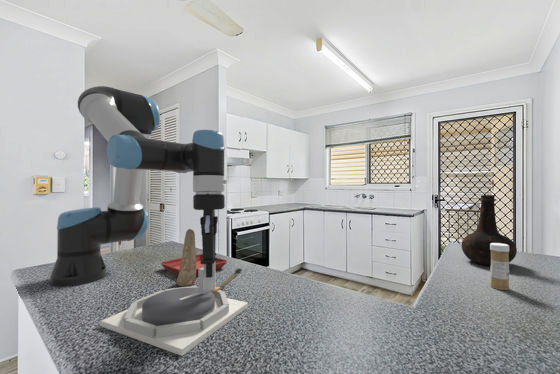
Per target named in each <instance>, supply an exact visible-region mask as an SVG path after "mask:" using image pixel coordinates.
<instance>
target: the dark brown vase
mask: <svg viewBox="0 0 560 374" xmlns="http://www.w3.org/2000/svg"><path fill="white" fill-rule="evenodd" d="M480 197H481V198H480V199H479V201H480V211H479V219H478V223H477V227H476V229H475V230H474V231H473V232H472V233H469V234H467V235H465V236H464V237H463V239H462V240H461V245H460V246H461V250H462V252H463V255H465V257H466V258H467V259H468V260H469V261H471V262H473V263H475V264H479V265H483V266H488V267H491V249H490V244H491V243H502V244H507V245H509V263H512V261H514V259H515V257H516V256H517V251H518V250H517V246H516V244H515V242H514V241H513V240H512V239H510V238H509V237H507V236H506V235H502V234H501V233H500V232H499V230H498V227H497V220H496V219H497V218H496V208H495V201H496V202H497V201H498V199H496V198H495V195H493V194H482V195H481V196H480Z"/></svg>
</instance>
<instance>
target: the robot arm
mask: <svg viewBox="0 0 560 374" xmlns="http://www.w3.org/2000/svg"><path fill="white" fill-rule="evenodd" d="M77 109H78V111H79V113H80V114H81V116H82V118H84V120H85V121H87V122H88V123H90V124H92V125H94V126H95V128H96V129H97V131H99V133H100V134H101V135H102V136H103V138H104V139H105V141H107V145H106V156H107V161H108V163H109V164H110V166H111V167H113V168H115V176H114V178H115V179H114V189H113V198H112V199H113V200H112V201H110V203H109V204H107V210H102V208H101V207H86V208H85V207H84V208H79V209H72V210H71V209H70V210H67V211H64V212H61V213H60V214H59V216H58V217H57V224H56V229H57V237H56V239H57V240H56V241H57V247H56V248H57V253H56V254H57V257H56V260H55V263H54V266H53V268H52V271H51V273H50V275H49V284H50V285H52V286H54V287H55V286H56V287H67V286H76V285H83V284H87V283H91V282H95V281H98V280H100V279H103V278H104V277H106V276H107V266H106V264H105V261H104V259H103V256H102V254H101V246H102V245H104V244H105V245H106V244H113V243H121V242H130V241H134V240H139V239H141V238H142V237H143V236H144V235H145V234H146V233H147V230H148V227H149V218H148V217H149V214H148V211H147V210H146V209H144V205H143V204H142V203H141V201H140V200H141V192H142V191H141V190H142V183H143V182H142V181H143V174H144V173H143V172H144V171H147V170H149V171H161V172H162V171H164V172H174V173H178V174H187V173H191V172H192V175H193V176H192V191H193V193H195V194H194V195H193V197H192V199H193V200H192V201H193V203H192V204H193V207H192V208H193V210H196V211H202V212H203V214H202V216H201V217H200V220H199V221H200V223H199V224H200V229H201V240H202V241H201V244H202V245H201V246H202V248H201V249H202V254H203V261H201V264H204V291H205V290H215V288H216V285H217V283H216V282H217V281H216V274H217V273H216V271H217V270H215V261H218V258H219V257H216V255H217V253H216V248H217V247H216V243H217V241H216V240H217V237H216V235H217V233H218V221H219V217H218V215H217V216H216V210H224V209H225V207H226V205H225V204H226V203H225V196H226V195H225V194H224V192H225V184H227V183H228V181H227V179H225V140H224V135H223V133H222V132H221V131H219V130H218V131H217V130H214V129H197V130H196V131H194V132H193V135H192V140H191V141H192V142H190V143H180V142H173V141H166V140H160V139H154V138H153V139H152V138H150V137H152V132H154V131H157V129H158V128H159V126H160V122H161V115H160V114H161V113H160V108H159V106H158V104H157V101H155V100H154V99H153V98H151V97H148V96H145V95H142V94H137V93H134V92H131V91H125V90H121V89H117V88H114V87H111V86H107V85H106V86H104V85H102V86H101V85H100V86H93V87H89V88H87V89H86V90H84V91H83V92H81V94H80V95H79V96H78V99H77ZM222 193H223V194H222Z"/></svg>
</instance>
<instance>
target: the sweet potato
mask: <svg viewBox="0 0 560 374" xmlns="http://www.w3.org/2000/svg"><path fill="white" fill-rule="evenodd" d="M183 240H184V241H183V242H184V243H183V248H182V255H181V258H182V259H181V265H180V270H179V275H177V276H178V277H177V279H176V282H175V284H176V285H177V286H178V287H179V288H181V287H190V286H194V284H195V282H196V279H197V275H196V255H197V249H196V234H195V231H194V230H193V229H191V228H189V229H187V230H186V232H185V236H184V239H183Z"/></svg>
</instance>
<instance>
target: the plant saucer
mask: <svg viewBox="0 0 560 374" xmlns="http://www.w3.org/2000/svg"><path fill="white" fill-rule="evenodd" d="M217 258H218V261H215V271H218V270H221V269H223V267H224V266H225V265H226V264H227V263H228V260H226V259H223V258H219V257H217ZM181 259H182V257H180V258H176V259H171V260H166V261H161V262H160V265H161V266H162V267H163V268H164V269H165V270H166V271H168V272H170V273H174V274H175V275H177V276H179V270H180V265H181ZM201 261H203V253H200V254H199V253H198V254H196V276H198V269H199V268H203V267H204V264H201Z"/></svg>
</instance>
